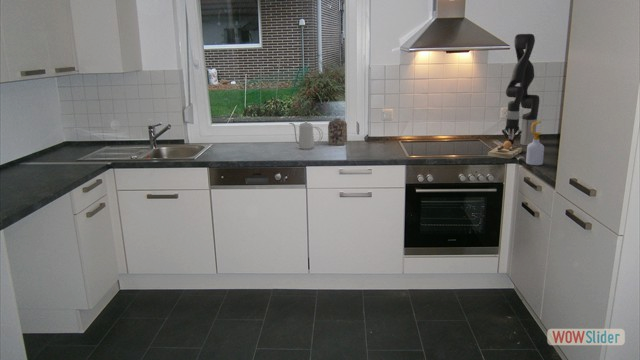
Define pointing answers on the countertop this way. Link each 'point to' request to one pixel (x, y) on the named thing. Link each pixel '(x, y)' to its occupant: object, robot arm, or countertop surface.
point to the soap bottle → (535, 149)
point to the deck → (505, 152)
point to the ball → (507, 144)
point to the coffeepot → (306, 135)
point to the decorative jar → (337, 132)
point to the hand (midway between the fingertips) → (510, 144)
